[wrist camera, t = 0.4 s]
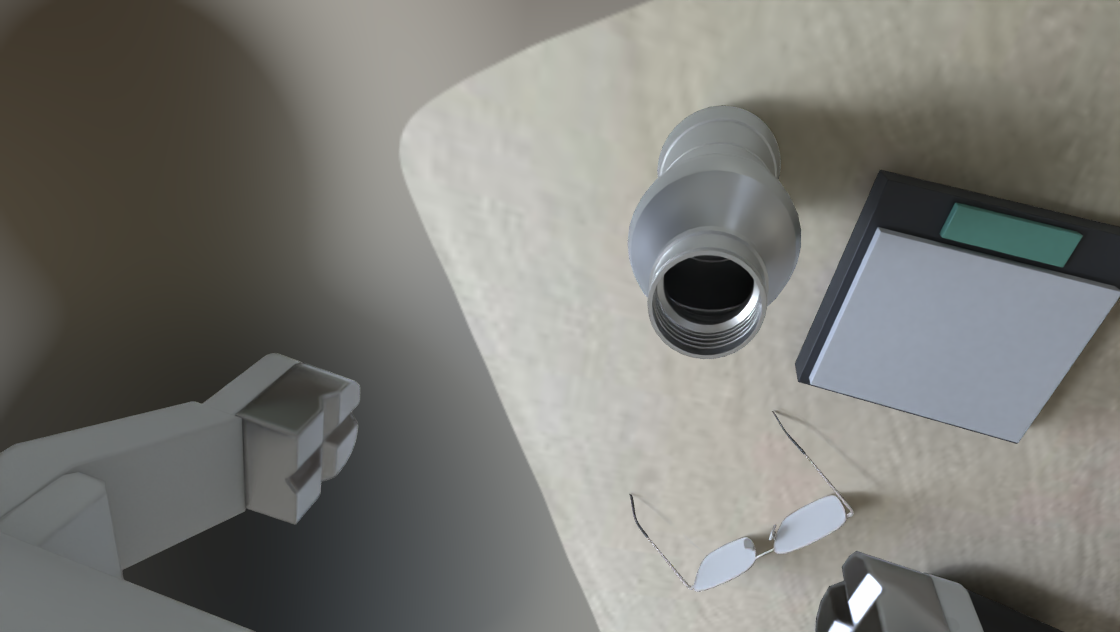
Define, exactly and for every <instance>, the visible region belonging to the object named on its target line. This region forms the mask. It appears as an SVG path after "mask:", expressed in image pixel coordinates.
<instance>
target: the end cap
mask: <svg viewBox="0 0 1120 632" xmlns="http://www.w3.org/2000/svg"><path fill="white" fill-rule="evenodd" d="M966 590H967V589H966ZM967 592H968V594H969V596H970V599H971V601H972V604H973V606H974V609H975V611H976V614H977V616H978V619H979V621H980V624H981V626H982V629H983V631H984V632H1063V631H1061V630H1059V629H1056V628H1054V627H1052V626H1050V625H1047V624H1045V623H1043V622H1040V621H1038V620H1036V619H1033V618H1031V617H1029V616H1027V615H1024V614H1022V613H1020V612H1017V611H1015V610H1013V609H1011V608H1008V607H1006V606H1004V605H1001V604H999V603H997V602H994V601H992V600H990V599H988V598H985V597H983V596H981V595H978V594H976V593H974V592H971V591H969V590H967Z"/></svg>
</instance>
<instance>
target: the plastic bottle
mask: <svg viewBox="0 0 1120 632" xmlns="http://www.w3.org/2000/svg"><path fill="white" fill-rule="evenodd" d="M780 165H781V157H780V152H779V147H778V144H777V141H776V139H775V137H774V134H773V133H772V132H771V130H770V129H769V127H768V126H767V125H766V124H765V123H764V122H763V121H762V120H761V119H760V118H759V117H758V116H756V115H754V114H753V113H751V112H749V111H747V110H745V109H741V108H738V107H735V106H723V105H721V106H713V107H708V108H705V109H702V110H699V111H697V112H695V113H693V114H691V115H689V116H688V117H686V118H685V119H684V120H683V121H681V122H680V123H679V124H678V125H677V126H676V127H675V128H674V129H673V131H672V132H671V133H670V134H669V136H668V137H667V139H666V141H665V143H664V145H663V147H662V150H661V153H660V156H659V161H658V169H657V171H658V178H657V179H656V180H655V181H654V183H653V184H652V185H651V186H650V187H649V189H648V190H647V191H646V192H645V194H644V195H643V196H642V198H641V200H640V202H639V203H638V205H637V207H636V209H635V211H634V213H633V217H632V220H631V223H630V226H629V234H628V253H629V260H630V263H631V267H632V270H633V273H634V276H635V278H636V280H637V282H638V284H639V286H640V288H641V289H642V291H643V293H644V294H645V295H646V297H647V298H648V301H647V302H648V313H649V317H650V321H651V324H652V326H653V328H654V330H655V332H656V333H657V335H658V336H659V337H660V338H661V340H662V341H663V342H664V343H666V344H667V345H668V346H669V347H670V348H672V349H673V350H675V351H677V352H679V353H681V354H683V355H686V356H689V357H693V358H700V359H714V358H720V357H725V356H727V355H730V354H732V353H735V352H737V351H738V350H740V349H741V348H743V347H745V346H746V345H747V344H748V343H749V342H750V341H751V340H752V339H753V338H754V337H755V335H756V334H757V333H758V331H759V330H760V327H761V325H762V323H763V321H764V318H765V314H766V309H767V306H768V305H769V304H771V303H772V302H773V301H774V300H775V299H776V298H777V296H778V295H779V294H780V292H781V291H782V290H783V288H784V287H785V285H786V284H787V282H788V281H789V279H790V277H791V275H792V273H793V271H794V269H795V267H796V264H797V261H798V257H799V252H800V248H801V228H800V222H799V217H798V213H797V211H796V208H795V206H794V204H793V202H792V199H791V197H790V196H789V194H788V192H787V191H786V190H785V188H784V187H783V185H782V184H781V183H780V181H779V180H778V179H779V175H780Z"/></svg>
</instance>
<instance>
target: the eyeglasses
mask: <svg viewBox="0 0 1120 632" xmlns="http://www.w3.org/2000/svg"><path fill="white" fill-rule="evenodd" d="M772 412H773V411H772ZM773 413H774V412H773ZM774 415H775V413H774ZM775 417H776V419H777V420H778V422H779V424H780V425H781V427H782V429H783V430H784V432H785V433H786V434H787V436H788V437H789V438H790V440H791V441H792V442H793V443H794V444H795V445H796V446H797V447H798V449H799V450H800V451H801V452H802V453H803V454H804V455H805V456H806V457H807V458H808V460H809V461H810V462H811V463H812V465H813V466H814V467H815V468H816V470H817V471H818V472H819V473H820V474H821V476H822V477H823V478H824V479H825V481H826V482H827V483H828V484H829V486H830V487H831V488H832V489H833V490H834V492H835V493H836V494H837V495H838V497H839V498H840V499H841V500H842V502H843V503H844V504H845V505H846V506H847V508H848V509H849V510H850V513H848V514H846V511H845V509H844V506H843V505H842V503H841V501H840V500H839V498H838V497H836V496H833V495H831V496H826V497H823V498H821V499H819V500H816V501H814V502H812V503H810V504H808V505H806V506H804V507H802V508H800V509H799V510H797V511H795V512H793V513H792V514H790V515H789V516H787V517H786V518H785V519H784V520H783V522H782V523H781V525H780V527H779V529H778V531H777V533H776V532H775V531H774V530H775V528H776V525H774V527H773V529H772V532H771V534H770V537H769V540H772V537H773V540H774V548H773V549H771V550H769V551H767V552H765V553H762V554H760V555H759V556H757V555H756V549H755V546H754V544H753V542H752V540H751V539H749V538H747V537H744V538H740V539H738V540H735V541H733V542H730V543H728V544H726V545H724V546H722V547H720V548H718V549H716V550H714V551H713V552H711V553H710V554H708V555H707V556H706V557H705V558H704V559H703V561H702V563H701V565H700V567H699V570H698V572H697V575H696V578H695V582H694V585H693V586H690V585H688V583H687V582H686V581H685V580H684V579H683V577H682V576H681V575H680V574H679V573H678V572H677V570H676V569H675V568H674V567H673V566H672V564H671V563H670V562H669V561H668V560H667V559H666V557H665V556H664V555H663V554H662V553H661V551H660V550H659V549H658V548H657V547H656V545H655V544H654V543H653V542H652V541H651V540H650V538H649V537H648V535H647V534H646V533H645V531H644V530H643V529H642V528H641V526H640V525H639V523H638V521H637V518H636V515H635V508H634V501H633V497H632V495H631V494H629V495H630V498H631V504H632V510H633V515H634V519H635V522H636V524H637V525H638V527H639V528H640V530H641V531H642V533H643V534H644V535H645V536H646V538H648V540H649V541H650V542H651V543H652V545H653V546H654V547H655V548H656V549H657V551H658V552H659V553H660V554H661V556H662V557H663V558H664V559H665V561H666V562H667V563H668V564H669V566H670V567H671V568H672V569H673V571H674V572H675V573H676V574H677V576H678V577H679V578H680V579H681V581H682V582H683V583H684V584H685V585H686V586H687V587H688V588H689V589H690V590H692V589H694V590H695V591H697V592H700V591H704V590H708V589H711V588H714V587H716V586H719V585H721V584H723V583H726V582H728V581H730V580H732V579H734V578H736V577H738V576H740V575H741V574H743V573H745V572H746V571H747V570H749V569H750V568H751V567H752V566H753V564H754V563H755V561H756V559H758V558H760V557H761V556H763V555H765V554H768V553H770V552H772V551H775V552H776V553H778V554H785V553H789V552H792V551H796V550H798V549H800V548H803V547H805V546H807V545H810V544H812V543H814V542H816V541H818V540H820V539H822V538H824V537H826V536H827V535H829V534H831V533H833V532H834V531H836V530H837V529H839V528H840V527H841V526H843V525H844V523H845V522H846V519H848V518H849V517H851V516H853V509H852V508H851V506H850V505H849V504H848V503H847V501H846V500H845V499H844V498H843V497H842V496H841V494H840V493H839V492H838V491H837V490H836V489H835V487H834V486H833V485H832V484H831V483H830V482H829V480H828V479H827V478H826V477H825V476H824V475H823V473H822V472H821V471H820V470H819V469H818V468H817V466H816V465H815V464H814V463H813V462H812V461H811V459H810V458H809V457H808V456H807V455H806V454H805V452H804V451H803V449H802V448H801V447H800V446H799V445H798V444H797V443H796V442H795V441H794V440H793V439H792V437H791V436H790V435H789V434H788V433H787V432H786V430H785V429H784V428H783V426H782V424H781V423H780V421H779V419H778V418H777V416H776V415H775ZM775 534H776V535H775ZM774 536H775V538H774ZM756 556H757V557H756Z"/></svg>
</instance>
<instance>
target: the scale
mask: <svg viewBox="0 0 1120 632" xmlns="http://www.w3.org/2000/svg"><path fill="white" fill-rule="evenodd" d="M1119 297H1120V227H1118V226H1114V225H1110V224H1106V223H1101V222H1097V221H1093V220H1089V219H1085V218H1081V217H1076V216H1072V215H1068V214H1064V213H1060V212H1055V211H1051V210H1047V209H1043V208H1039V207H1034V206H1030V205H1026V204H1022V203H1018V202H1014V201H1009V200H1005V199H1001V198H997V197H993V196H988V195H984V194H980V193H976V192H972V191H967V190H963V189H959V188H955V187H951V186H947V185H942V184H938V183H934V182H930V181H926V180H921V179H917V178H913V177H909V176H905V175H901V174H896V173H892V172H888V171H884V170H880V171H879V173H878V175H877V177H876V180H875V182H874V184H873V187H872V189H871V191H870V193H869V196H868V198H867V200H866V203H865V205H864V207H863V209H862V212H861V214H860V216H859V219H858V221H857V223H856V225H855V228H854V230H853V232H852V235H851V237H850V239H849V241H848V244H847V246H846V248H845V251H844V253H843V255H842V257H841V260H840V262H839V264H838V267H837V269H836V271H835V273H834V276H833V278H832V280H831V283H830V285H829V287H828V289H827V292H826V294H825V296H824V299H823V301H822V303H821V305H820V308H819V310H818V312H817V315H816V317H815V319H814V321H813V324H812V326H811V328H810V331H809V333H808V335H807V337H806V340H805V342H804V344H803V347H802V349H801V351H800V353H799V356H798V358H797V360H796V363H795V367H796V373H797V379H798V382H801V383H804V384H808V385H812V386H815V387H819V388H822V389H826V390H829V391H833V392H836V393H840V394H843V395H847V396H850V397H854V398H857V399H861V400H864V401H868V402H872V403H875V404H879V405H882V406H886V407H889V408H893V409H896V410H900V411H903V412H907V413H910V414H914V415H917V416H921V417H924V418H928V419H931V420H935V421H939V422H942V423H946V424H949V425H953V426H956V427H960V428H963V429H967V430H970V431H974V432H977V433H981V434H984V435H988V436H991V437H995V438H998V439H1002V440H1006V441H1009V442H1013V443H1016V444H1017V443H1019V441H1020V440H1021V438H1022V437H1023V435H1024V434H1025V433H1026V431H1027V430H1028V428H1029V427H1030V425H1031V424H1032V422H1033V421H1034V420H1035V418H1036V417H1037V415H1038V414H1039V412H1040V411H1041V410H1042V408H1043V407H1044V405H1045V404H1046V402H1047V401H1048V399H1049V398H1050V397H1051V395H1052V394H1053V392H1054V391H1055V389H1056V388H1057V386H1058V385H1059V384H1060V382H1061V381H1062V379H1063V378H1064V376H1065V375H1066V374H1067V372H1068V371H1069V369H1070V368H1071V366H1072V365H1073V363H1074V362H1075V361H1076V359H1077V358H1078V356H1079V355H1080V353H1081V352H1082V350H1083V349H1084V348H1085V346H1086V345H1087V343H1088V342H1089V340H1090V339H1091V338H1092V336H1093V335H1094V333H1095V332H1096V330H1097V329H1098V327H1099V326H1100V325H1101V323H1102V322H1103V320H1104V319H1105V317H1106V316H1107V315H1108V313H1109V312H1110V310H1111V309H1112V307H1113V306H1114V304H1115V303H1116V302H1117V300H1118V299H1119Z"/></svg>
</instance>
